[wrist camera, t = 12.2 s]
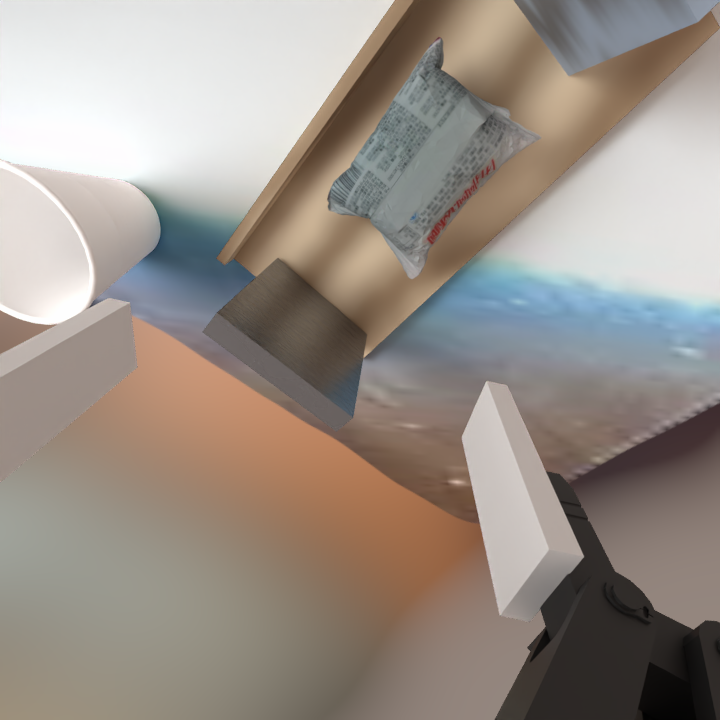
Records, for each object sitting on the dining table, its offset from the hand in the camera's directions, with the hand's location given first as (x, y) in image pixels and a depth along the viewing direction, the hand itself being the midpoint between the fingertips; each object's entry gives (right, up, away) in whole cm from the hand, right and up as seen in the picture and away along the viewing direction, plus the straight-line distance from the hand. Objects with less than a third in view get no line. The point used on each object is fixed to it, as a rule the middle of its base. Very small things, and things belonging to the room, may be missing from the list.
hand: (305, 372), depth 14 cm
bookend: (-2, +5, +19) cm, 20 cm away
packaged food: (+6, +12, +16) cm, 21 cm away
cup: (-18, +13, +18) cm, 28 cm away
